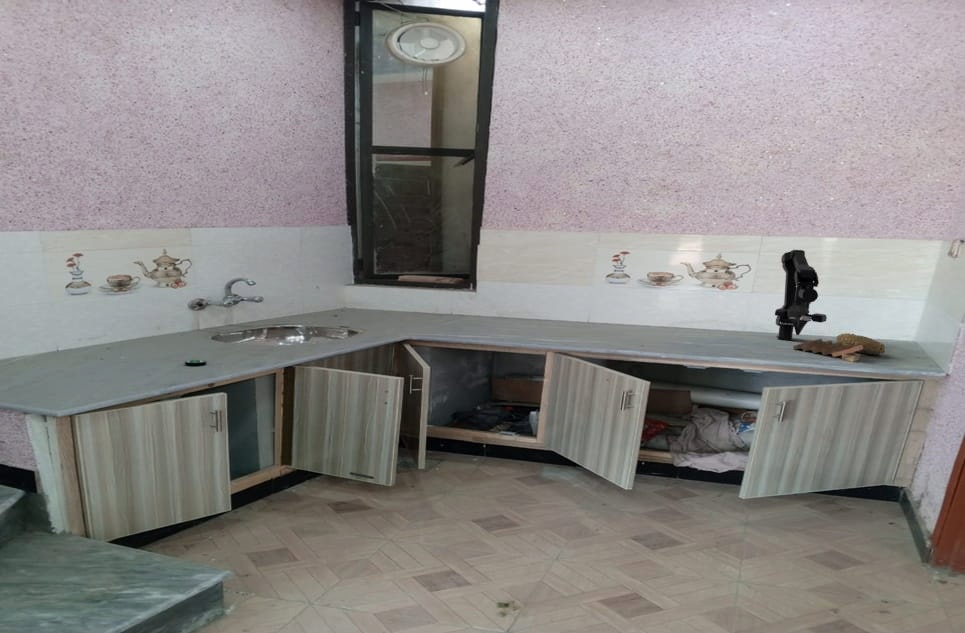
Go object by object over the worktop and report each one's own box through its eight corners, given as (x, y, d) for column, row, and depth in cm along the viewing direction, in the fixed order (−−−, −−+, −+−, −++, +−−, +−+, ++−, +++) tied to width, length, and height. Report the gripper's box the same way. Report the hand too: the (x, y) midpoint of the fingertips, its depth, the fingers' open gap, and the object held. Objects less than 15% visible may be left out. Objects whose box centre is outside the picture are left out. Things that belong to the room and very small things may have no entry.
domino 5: (831, 353, 237) (858, 346, 230) (835, 351, 241) (862, 344, 233) (833, 356, 237) (859, 350, 230) (837, 355, 240) (863, 348, 233)
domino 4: (821, 351, 240) (847, 344, 233) (826, 349, 243) (851, 343, 236) (823, 355, 240) (848, 348, 232) (827, 353, 243) (853, 347, 236)
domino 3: (811, 349, 243) (837, 343, 235) (816, 348, 246) (841, 341, 239) (813, 353, 243) (838, 347, 235) (817, 351, 246) (842, 345, 238)
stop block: (841, 359, 234) (842, 354, 233) (848, 356, 239) (849, 352, 238) (852, 361, 231) (853, 357, 230) (859, 358, 236) (860, 354, 235)
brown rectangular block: (792, 346, 248) (817, 340, 241) (797, 344, 252) (821, 338, 244) (794, 349, 248) (818, 343, 241) (798, 348, 251) (822, 342, 244)
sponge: (831, 348, 259) (854, 349, 239) (835, 331, 259) (858, 331, 239) (861, 355, 258) (887, 357, 238) (866, 338, 258) (892, 339, 238)
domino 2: (802, 347, 246) (826, 341, 238) (807, 346, 249) (831, 340, 241) (803, 351, 245) (828, 345, 238) (808, 349, 249) (832, 343, 241)
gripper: (771, 297, 248) (767, 333, 251) (819, 303, 234) (813, 341, 237) (782, 295, 255) (778, 330, 258) (829, 301, 241) (824, 338, 244)
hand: (797, 335), depth 249 cm, fingers closed
